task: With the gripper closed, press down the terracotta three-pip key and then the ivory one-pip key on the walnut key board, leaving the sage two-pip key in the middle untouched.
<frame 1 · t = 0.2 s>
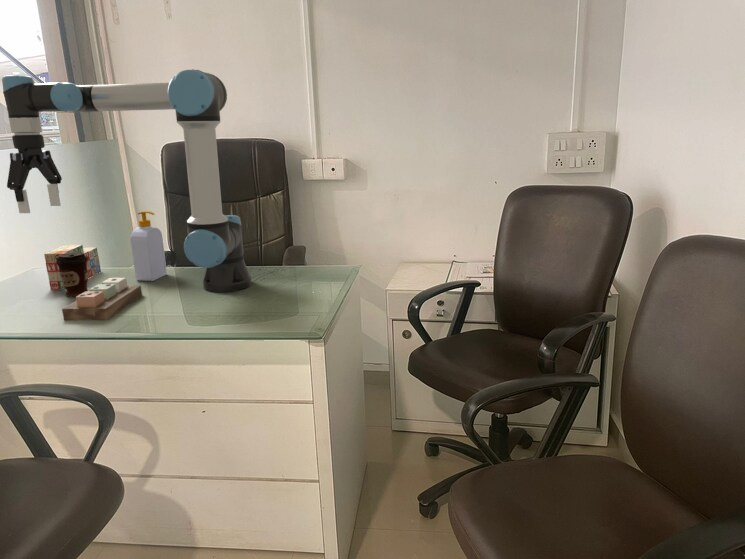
hand: (41, 209, 162), 28 cm above the table, fingers open, 13 cm apart
tile three: (90, 298, 154), point 5 cm above the table, slide at 0.0 cm
coffee cup: (77, 295, 174), on the table
tile two: (103, 291, 161), point 5 cm above the table, slide at 0.0 cm
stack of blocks: (77, 281, 190), on the table
tile one: (114, 284, 168), point 5 cm above the table, slide at 0.0 cm
key board: (105, 306, 162), on the table
soap bottle: (152, 278, 192), on the table
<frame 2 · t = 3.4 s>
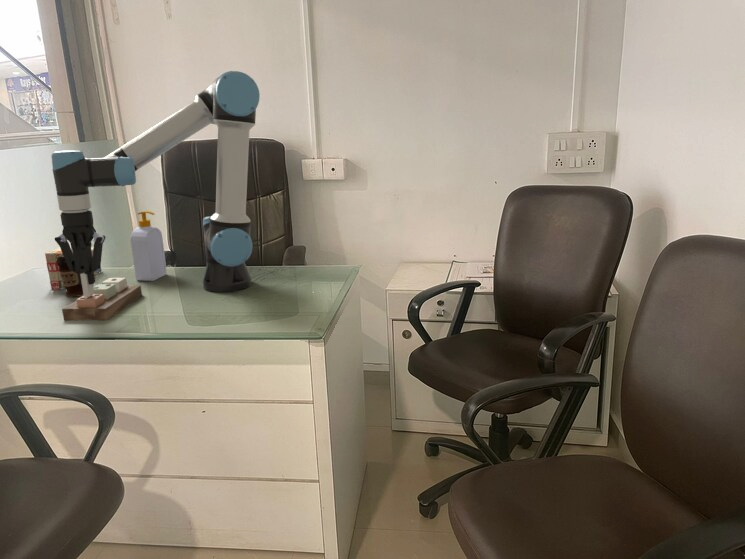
hand: (89, 295, 154), 6 cm above the table, fingers closed
tile three: (90, 301, 154), point 4 cm above the table, slide at 0.8 cm, touching gripper
everything else where it was.
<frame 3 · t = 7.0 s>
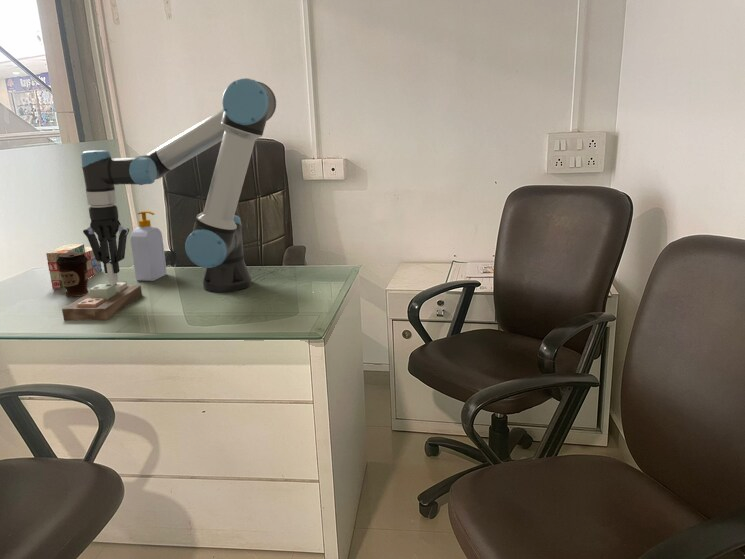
hand: (113, 283, 167), 5 cm above the table, fingers closed
tile three: (91, 305, 155), point 3 cm above the table, slide at 2.1 cm
tile one: (115, 289, 168), point 3 cm above the table, slide at 1.5 cm, touching gripper
everything else where it was.
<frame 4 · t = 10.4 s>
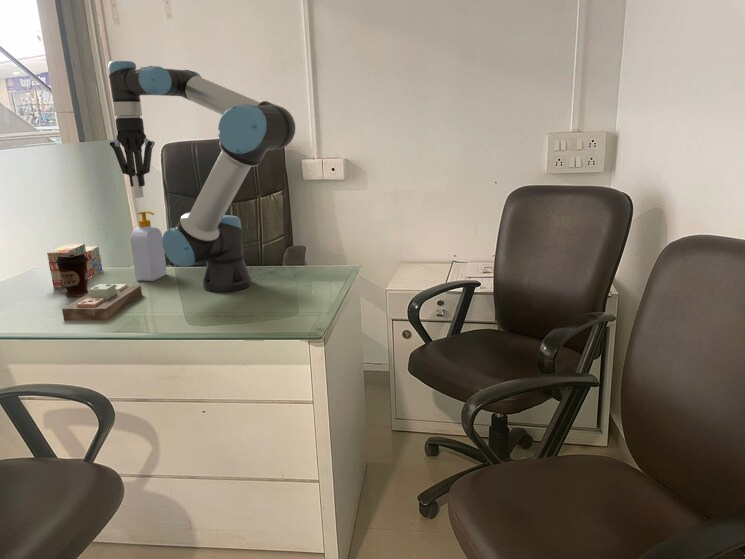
hand: (139, 197, 171), 29 cm above the table, fingers closed
tile one: (115, 290, 168), point 3 cm above the table, slide at 2.1 cm
at the end: tile three slide at 2.1 cm; tile one slide at 2.1 cm; tile two slide at 0.0 cm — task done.
